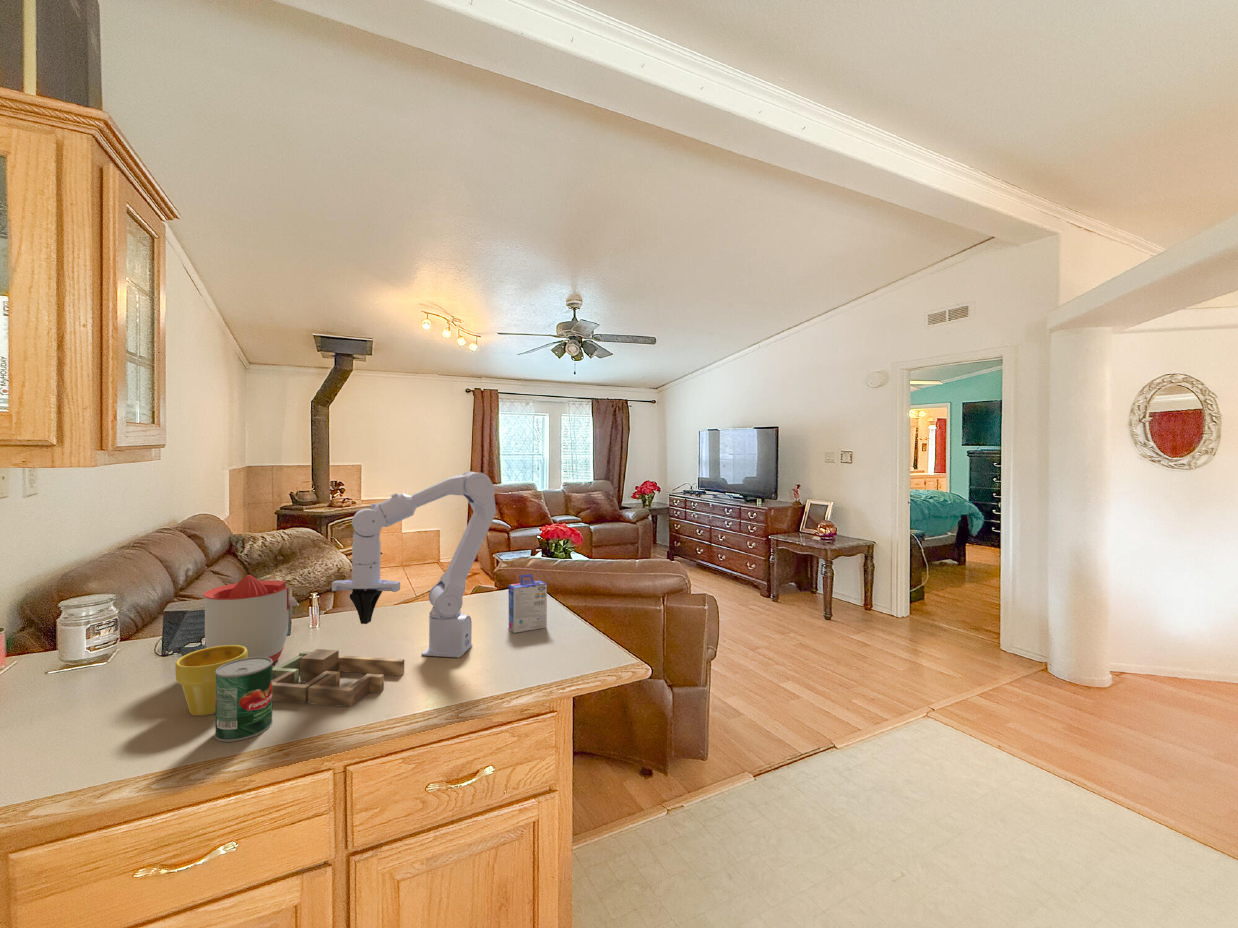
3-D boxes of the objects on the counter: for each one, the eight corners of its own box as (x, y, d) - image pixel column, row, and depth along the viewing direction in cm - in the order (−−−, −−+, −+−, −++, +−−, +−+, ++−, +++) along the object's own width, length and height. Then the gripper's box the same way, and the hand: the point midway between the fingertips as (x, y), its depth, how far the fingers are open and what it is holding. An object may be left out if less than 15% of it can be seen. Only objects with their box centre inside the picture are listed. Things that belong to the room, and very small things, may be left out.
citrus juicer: (302, 664, 113) (303, 575, 112) (202, 686, 102) (202, 587, 101) (294, 643, 125) (294, 563, 124) (203, 660, 114) (203, 572, 114)
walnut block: (338, 673, 109) (338, 650, 109) (322, 683, 104) (322, 659, 104) (316, 671, 109) (317, 648, 109) (300, 682, 104) (300, 658, 104)
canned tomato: (225, 721, 88) (225, 659, 88) (277, 714, 91) (278, 653, 91) (206, 746, 81) (207, 678, 81) (264, 737, 84) (265, 671, 84)
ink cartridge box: (540, 622, 144) (541, 571, 144) (547, 628, 139) (548, 575, 139) (506, 627, 139) (507, 575, 139) (513, 633, 134) (514, 579, 134)
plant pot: (188, 727, 86) (188, 671, 86) (166, 710, 92) (166, 657, 92) (257, 703, 95) (257, 651, 95) (233, 689, 100) (233, 640, 100)
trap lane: (404, 672, 109) (404, 657, 109) (361, 707, 94) (361, 689, 94) (302, 666, 112) (303, 651, 112) (245, 698, 97) (245, 681, 97)
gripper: (406, 559, 117) (405, 617, 117) (344, 558, 117) (343, 616, 117) (392, 565, 110) (391, 627, 110) (326, 564, 110) (325, 626, 110)
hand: (365, 622), depth 113 cm, fingers closed
